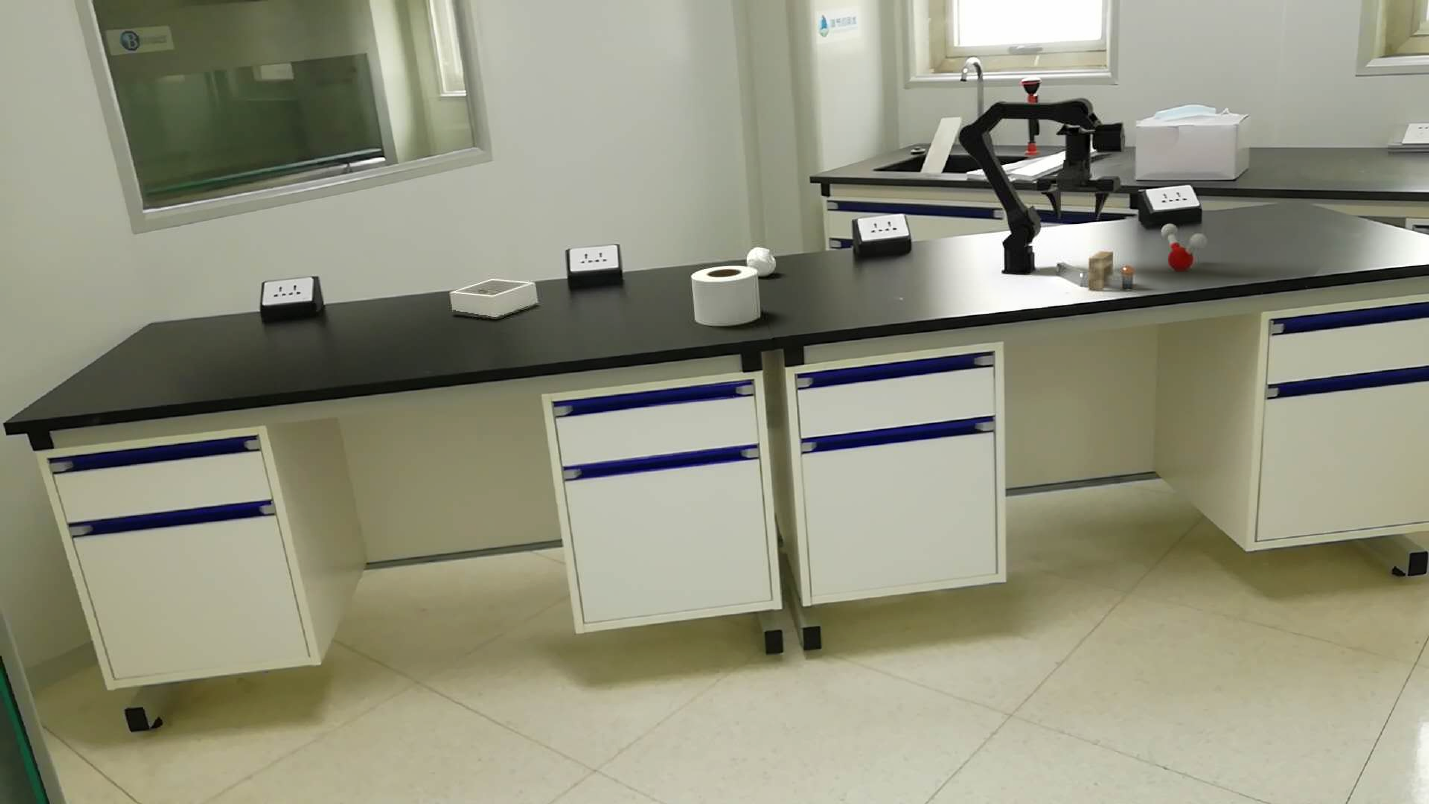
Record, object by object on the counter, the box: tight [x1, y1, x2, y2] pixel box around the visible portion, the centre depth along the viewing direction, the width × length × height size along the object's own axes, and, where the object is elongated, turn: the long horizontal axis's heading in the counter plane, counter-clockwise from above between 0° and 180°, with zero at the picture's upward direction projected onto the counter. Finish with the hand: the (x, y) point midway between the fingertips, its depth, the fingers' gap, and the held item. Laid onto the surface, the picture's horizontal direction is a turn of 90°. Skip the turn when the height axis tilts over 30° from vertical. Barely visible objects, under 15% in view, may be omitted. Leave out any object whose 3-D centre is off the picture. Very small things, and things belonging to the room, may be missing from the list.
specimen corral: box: [449, 278, 539, 317], centre depth 300 cm, size 16×15×6 cm
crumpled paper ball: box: [746, 247, 777, 277], centre depth 309 cm, size 8×8×8 cm
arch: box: [1088, 251, 1114, 292], centre depth 266 cm, size 3×7×8 cm, turn 144°
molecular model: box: [1160, 223, 1208, 272], centre depth 274 cm, size 18×6×10 cm, turn 6°
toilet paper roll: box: [690, 265, 761, 327], centre depth 271 cm, size 16×15×11 cm
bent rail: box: [1055, 262, 1135, 290], centre depth 271 cm, size 23×6×5 cm, turn 29°
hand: (1077, 219), depth 278 cm, fingers open, 9 cm apart
